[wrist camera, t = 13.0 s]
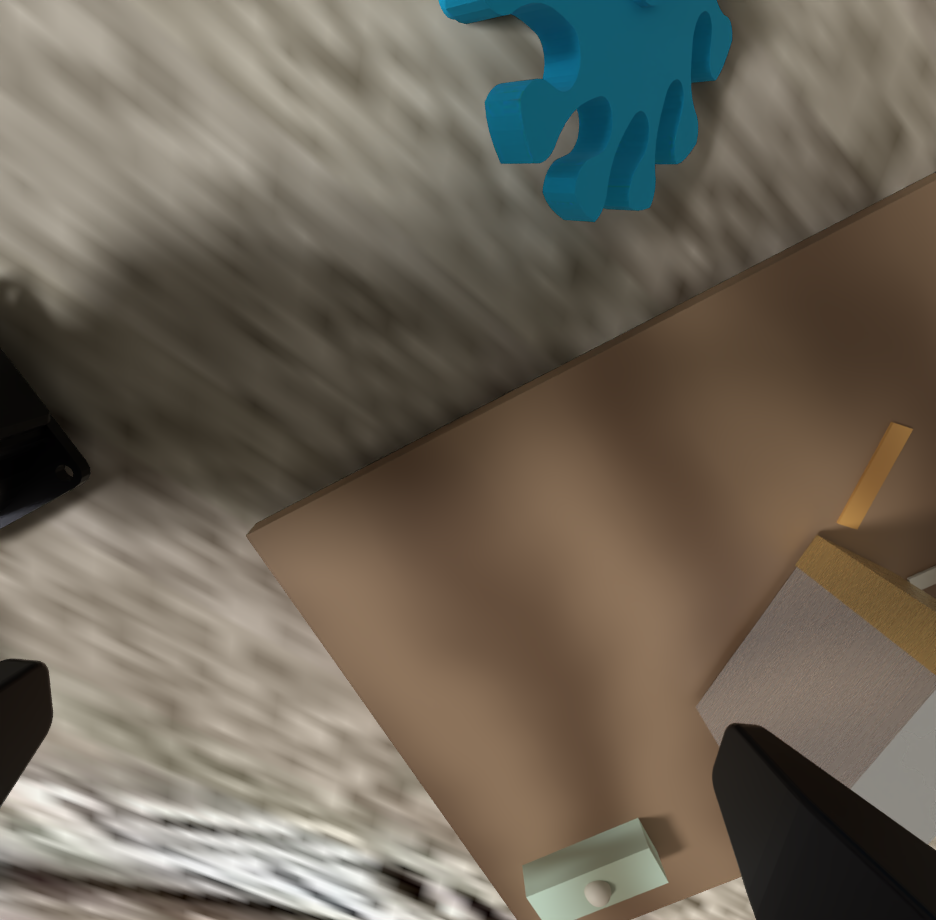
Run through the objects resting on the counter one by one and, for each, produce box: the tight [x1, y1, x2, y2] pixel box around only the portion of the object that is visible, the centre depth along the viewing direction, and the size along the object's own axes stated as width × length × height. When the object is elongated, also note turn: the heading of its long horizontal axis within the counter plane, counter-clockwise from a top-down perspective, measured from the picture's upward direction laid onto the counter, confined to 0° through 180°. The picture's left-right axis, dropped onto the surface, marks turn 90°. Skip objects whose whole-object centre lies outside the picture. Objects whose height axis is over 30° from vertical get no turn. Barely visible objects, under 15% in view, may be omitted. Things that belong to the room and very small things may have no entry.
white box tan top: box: [696, 535, 936, 844], centre depth 16 cm, size 7×3×6 cm, turn 154°
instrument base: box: [246, 172, 936, 920], centre depth 18 cm, size 24×22×3 cm
